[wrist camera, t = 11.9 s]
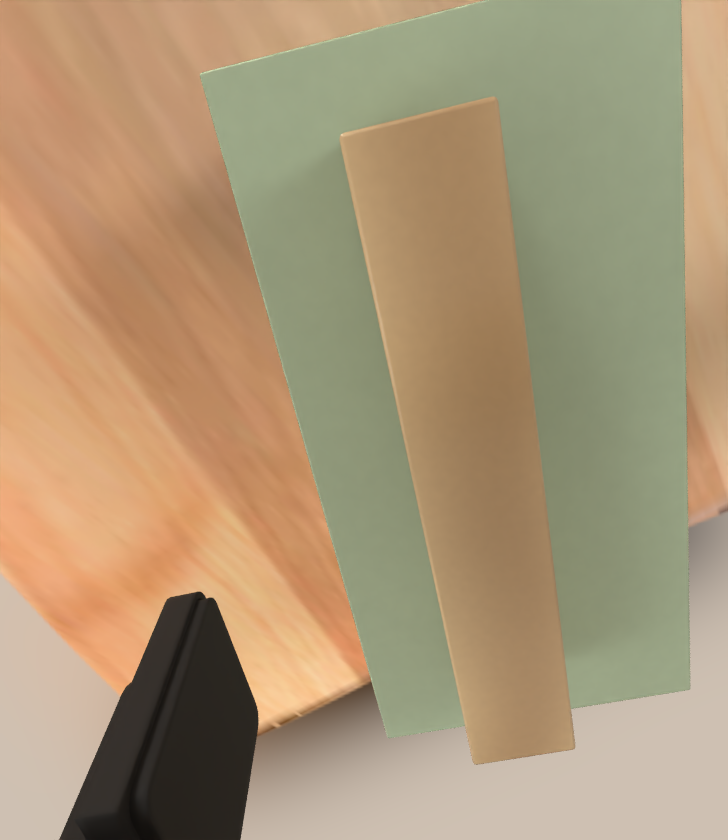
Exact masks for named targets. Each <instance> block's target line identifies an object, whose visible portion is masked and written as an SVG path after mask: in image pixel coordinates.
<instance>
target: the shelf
mask: <svg viewBox="0 0 728 840" xmlns="http://www.w3.org/2000/svg"><path fill="white" fill-rule="evenodd" d="M200 78H201V81H202V85H203V89H204V92H205V96H206V99H207V103H208V106H209V110H210V113H211V117H212V120H213V124H214V127H215V131H216V134H217V138H218V141H219V145H220V149H221V152H222V156H223V159H224V163H225V166H226V170H227V173H228V177H229V180H230V184H231V187H232V191H233V194H234V198H235V201H236V205H237V208H238V212H239V216H240V219H241V223H242V226H243V230H244V233H245V237H246V240H247V244H248V247H249V251H250V254H251V258H252V261H253V265H254V268H255V272H256V275H257V279H258V283H259V286H260V290H261V293H262V297H263V300H264V304H265V307H266V311H267V314H268V318H269V321H270V325H271V328H272V332H273V335H274V339H275V342H276V346H277V350H278V353H279V357H280V360H281V364H282V367H283V371H284V374H285V378H286V381H287V385H288V388H289V392H290V395H291V399H292V402H293V406H294V409H295V413H296V417H297V420H298V424H299V427H300V431H301V434H302V438H303V441H304V445H305V448H306V452H307V455H308V459H309V462H310V466H311V469H312V473H313V477H314V480H315V484H316V487H317V491H318V494H319V498H320V501H321V505H322V508H323V512H324V515H325V519H326V522H327V526H328V529H329V533H330V536H331V540H332V544H333V547H334V551H335V554H336V558H337V561H338V565H339V568H340V572H341V575H342V579H343V582H344V586H345V589H346V593H347V596H348V600H349V603H350V607H351V611H352V614H353V618H354V621H355V625H356V628H357V632H358V635H359V639H360V642H361V646H362V649H363V653H364V656H365V660H366V663H367V667H368V670H369V674H370V678H371V681H372V685H373V688H374V691H375V695H376V698H377V702H378V706H379V709H380V712H381V716H382V720H383V723H384V727H385V730H386V734H387V737H388V738H394V737H400V736H406V735H412V734H418V733H424V732H431V731H436V730H443V729H449V728H456V727H462V726H465V723H464V719H463V714H462V709H461V705H460V700H459V695H458V691H457V686H456V681H455V677H454V672H453V667H452V663H451V658H450V653H449V649H448V644H447V639H446V635H445V630H444V625H443V621H442V616H441V611H440V607H439V602H438V597H437V593H436V588H435V583H434V579H433V574H432V570H431V565H430V560H429V556H428V551H427V546H426V542H425V537H424V532H423V528H422V523H421V518H420V514H419V509H418V504H417V500H416V495H415V490H414V486H413V481H412V476H411V472H410V467H409V462H408V458H407V453H406V448H405V444H404V439H403V434H402V430H401V425H400V420H399V416H398V411H397V406H396V402H395V397H394V392H393V388H392V383H391V378H390V374H389V369H388V364H387V360H386V355H385V350H384V346H383V341H382V336H381V332H380V327H379V322H378V318H377V313H376V309H375V304H374V299H373V295H372V290H371V285H370V281H369V276H368V271H367V267H366V262H365V257H364V253H363V248H362V243H361V239H360V234H359V229H358V225H357V220H356V215H355V211H354V206H353V201H352V197H351V192H350V187H349V183H348V178H347V173H346V169H345V164H344V159H343V155H342V150H341V145H340V141H339V138H340V135H341V134H342V133H345V132H349V131H353V130H357V129H361V128H365V127H369V126H373V125H377V124H381V123H385V122H390V121H394V120H398V119H402V118H406V117H410V116H414V115H418V114H422V113H426V112H430V111H434V110H439V109H443V108H447V107H451V106H455V105H459V104H463V103H467V102H471V101H475V100H479V99H483V98H487V97H492V96H493V97H496V98H497V100H498V103H499V111H500V119H501V128H502V136H503V145H504V153H505V161H506V170H507V178H508V186H509V195H510V203H511V212H512V220H513V228H514V237H515V245H516V253H517V262H518V270H519V278H520V287H521V295H522V304H523V312H524V320H525V329H526V337H527V345H528V354H529V362H530V371H531V379H532V387H533V396H534V404H535V412H536V421H537V429H538V438H539V446H540V454H541V463H542V471H543V479H544V488H545V496H546V505H547V513H548V521H549V530H550V538H551V546H552V555H553V563H554V571H555V580H556V588H557V597H558V605H559V613H560V622H561V630H562V638H563V647H564V655H565V664H566V672H567V680H568V689H569V697H570V705H571V709H573V708H579V707H585V706H592V705H598V704H605V703H611V702H617V701H623V700H629V699H636V698H641V697H648V696H654V695H660V694H667V693H673V692H678V691H685V690H689V689H690V631H689V630H690V629H689V559H688V558H689V556H688V555H689V554H688V478H687V403H686V327H685V252H684V177H683V102H682V26H681V0H483V1H479V2H475V3H472V4H468V5H464V6H460V7H456V8H452V9H448V10H444V11H440V12H436V13H432V14H429V15H425V16H421V17H417V18H413V19H409V20H405V21H401V22H397V23H393V24H390V25H386V26H382V27H378V28H374V29H370V30H366V31H362V32H358V33H354V34H350V35H347V36H343V37H339V38H335V39H331V40H327V41H323V42H319V43H315V44H311V45H308V46H304V47H300V48H296V49H292V50H288V51H284V52H280V53H276V54H272V55H268V56H265V57H261V58H257V59H253V60H249V61H245V62H241V63H237V64H233V65H229V66H226V67H222V68H218V69H214V70H210V71H206V72H202V73H201V74H200Z"/></svg>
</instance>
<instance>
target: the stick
mask: <svg viewBox="0 0 728 840" xmlns="http://www.w3.org/2000/svg"><path fill="white" fill-rule="evenodd" d="M339 141H340V145H341V150H342V155H343V159H344V164H345V169H346V173H347V178H348V183H349V187H350V192H351V197H352V201H353V206H354V211H355V215H356V220H357V225H358V229H359V234H360V239H361V243H362V248H363V253H364V257H365V262H366V267H367V271H368V276H369V281H370V285H371V290H372V295H373V299H374V304H375V309H376V313H377V318H378V322H379V327H380V332H381V336H382V341H383V346H384V350H385V355H386V360H387V364H388V369H389V374H390V378H391V383H392V388H393V392H394V397H395V402H396V406H397V411H398V416H399V420H400V425H401V430H402V434H403V439H404V444H405V448H406V453H407V458H408V462H409V467H410V472H411V476H412V481H413V486H414V490H415V495H416V500H417V504H418V509H419V514H420V518H421V523H422V528H423V532H424V537H425V542H426V546H427V551H428V556H429V560H430V565H431V570H432V574H433V579H434V583H435V588H436V593H437V597H438V602H439V607H440V611H441V616H442V621H443V625H444V630H445V635H446V639H447V644H448V649H449V653H450V658H451V663H452V667H453V672H454V677H455V681H456V686H457V691H458V695H459V700H460V705H461V709H462V714H463V719H464V723H465V728H466V733H467V737H468V742H469V747H470V751H471V756H472V760H473V763H474V764H476V765H478V764H484V763H490V762H497V761H503V760H509V759H516V758H522V757H529V756H535V755H541V754H547V753H554V752H560V751H567V750H573V749H574V748H575V739H574V731H573V723H572V714H571V705H570V697H569V689H568V680H567V672H566V664H565V655H564V647H563V638H562V630H561V622H560V613H559V605H558V597H557V588H556V580H555V571H554V563H553V555H552V546H551V538H550V530H549V521H548V513H547V505H546V496H545V488H544V479H543V471H542V463H541V454H540V446H539V438H538V429H537V421H536V412H535V404H534V396H533V387H532V379H531V371H530V362H529V354H528V345H527V337H526V329H525V320H524V312H523V304H522V295H521V287H520V278H519V270H518V262H517V253H516V245H515V237H514V228H513V220H512V212H511V203H510V195H509V186H508V178H507V170H506V161H505V153H504V145H503V136H502V128H501V119H500V111H499V103H498V100H497V98H496V97H493V96H492V97H487V98H483V99H479V100H475V101H471V102H467V103H463V104H459V105H455V106H451V107H447V108H443V109H439V110H434V111H430V112H426V113H422V114H418V115H414V116H410V117H406V118H402V119H398V120H394V121H390V122H385V123H381V124H377V125H373V126H369V127H365V128H361V129H357V130H353V131H349V132H345V133H342V134H341V135H340V138H339Z"/></svg>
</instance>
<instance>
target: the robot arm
mask: <svg viewBox="0 0 728 840" xmlns="http://www.w3.org/2000/svg"><path fill="white" fill-rule="evenodd" d="M257 731H258V710H257V706H256V703H255V700H254V697H253V695H252V692H251V690H250V687H249V685H248V682H247V680H246V677H245V674H244V672H243V669H242V667H241V664H240V662H239V659H238V656H237V654H236V651H235V649H234V646H233V644H232V641H231V639H230V636H229V633H228V631H227V628H226V626H225V623H224V621H223V618H222V615H221V613H220V610H219V608H218V605H217V603H216V601H215V600H214V598H207V599H206V597H205V595H204V594H203V593H202V592H195V593H190V594H185V595H180V596H175V597H170V598H169V599H167V601H166V603H165V605H164V607H163V609H162V612H161V614H160V617H159V619H158V621H157V624H156V626H155V628H154V631H153V633H152V636H151V638H150V640H149V643H148V645H147V647H146V650H145V652H144V655H143V657H142V659H141V662H140V664H139V667H138V669H137V671H136V674H135V676H134V678H133V681H132V682H131V683H130V684H129V685H128V686H126V688H125V690H124V691H123V693H122V695H121V697H120V700H119V702H118V704H117V707H116V709H115V711H114V714H113V716H112V718H111V721H110V723H109V725H108V728H107V730H106V732H105V735H104V737H103V739H102V741H101V744H100V746H99V748H98V751H97V753H96V755H95V758H94V760H93V762H92V765H91V767H90V769H89V772H88V774H87V776H86V779H85V781H84V783H83V786H82V788H81V790H80V793H79V795H78V797H77V800H76V802H75V805H74V807H73V809H72V811H71V814H70V816H69V818H68V821H67V823H66V825H65V828H64V830H63V832H62V835H61V837H60V839H59V840H240V838H241V832H242V826H243V819H244V813H245V807H246V801H247V794H248V788H249V782H250V775H251V769H252V762H253V756H254V750H255V744H256V737H257Z"/></svg>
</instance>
